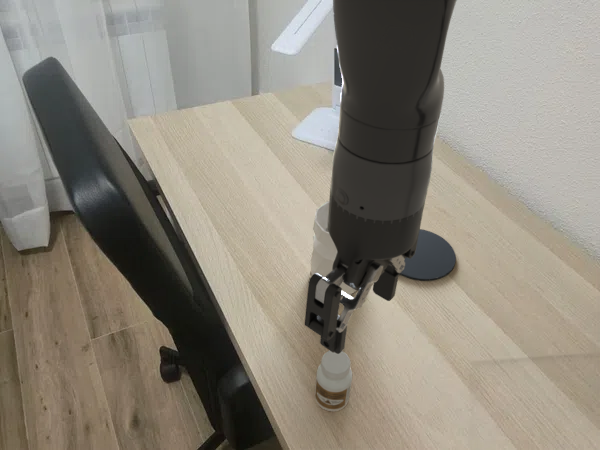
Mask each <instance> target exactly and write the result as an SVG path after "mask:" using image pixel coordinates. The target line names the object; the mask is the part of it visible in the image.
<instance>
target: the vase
mask: <svg viewBox="0 0 600 450" xmlns="http://www.w3.org/2000/svg"><path fill="white" fill-rule="evenodd" d="M328 211H329V200H327V201H325V202H324V203H323V204H322V205H320V206H319V207H318V208H316V209H315V215H314V221H313V225H312V226H313V227H312V231H313V233H314V235H313V236H312V240H313V243H312V252H311V258H310V274H311V276H310V278H311V277H312V275H313V274H315V273H318V274H320V275H321V276H323V277H325V276H326V275H328V274H329V273H330V272H331V271H332V266H333V263H334V260H335V258H336V255H337V249H336V246H335V244H334V242H333V240H332V238H331V236H330V234H329V231H328ZM340 287H341V288H342V291H344V292H345V293H347V294H349V295H350V296H352V294H354V293H356V292H358V291H357V290H355V289H353V288H351V287H350V286H348V285H346V284H345V283H344V282H342V284H341V285H340Z"/></svg>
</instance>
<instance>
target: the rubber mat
mask: <svg viewBox="0 0 600 450" xmlns="http://www.w3.org/2000/svg"><path fill="white" fill-rule="evenodd" d="M404 262H405V267H404V269H403V271H402V272H401V273H399V276H402V277H405V278H407V279H411V280H413V281H421V282H422V281H423V282H429V281H436V280H439V279H442V278H444V277H446V276H448V275H449V274H450V273H451V272H452V271H453V269H454V268H455V265H456V262H457V257H456V252H455V250H454V248H453V247H452V245H451V244H450V243H449V242H448V241H447V240H446V239H445V238H444V237H442V236H440V235H439V234H437V233H435V232H433V231H429V230H427V229H426V230H425V229H423V228H422V229H421V228H420V231H419V236H418V241H417V247H416V251H415V255H414V256H413V257H412V258H411V259H409V258H407V257H406V258H405V260H404Z"/></svg>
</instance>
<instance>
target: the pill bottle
mask: <svg viewBox="0 0 600 450" xmlns="http://www.w3.org/2000/svg"><path fill="white" fill-rule="evenodd" d="M352 382H353V371H352V369H351V358H350V357H349V355H348V354H347V353H346V352H345V351H344V350H342V351H341V352H340V353H339V354H337V353H335V352H334V353H333V352H331V351H330V350H328V351H326V352H324V354H323V355H322V357H321V361H320V364H319V365H318V366H317V370H316V377H315V386H314V387H315V388H314V399H315V402H316V404H317V405H318V406H319V407H320V408H321V409H322V410H325V411H328V412H338V411H341V410H342V409H344V408H345V407H346V406H347V405H348V403H349V400H350V396H351V395H350V394H351V388H352Z"/></svg>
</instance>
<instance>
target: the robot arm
mask: <svg viewBox="0 0 600 450" xmlns="http://www.w3.org/2000/svg"><path fill="white" fill-rule="evenodd" d="M457 1H458V0H332V12H333V13H332V14H333V24H334V34H335V42H336V49H337V58H338V64H339V68H340V69H339V70H340V73H341V78H342V85H341V91H340V101H339V102H340V103H339V115H338V127H337V135H336V142H335V146H334V150H333V154H332V161H331V174H330V184H329V186H330V188H329V200H328V201H329V211H328V231H329V234H330V236H331V238H332V240H333V242H334V244H335V246H336V249H337V255H336V258H335V260H334V263H333V266H332V271H331V272H330V273H329V274H328V275H326V276H325V277H323V276H321V275H320V274H318V273H315V274H313V275H312V277H311V276H310V278H309V280H308V285H307V296H306V305H305V313H304V315H305V316H304V326H305V327H307V328H308V329H310V330H311V331H313V332H314V333H315V334H317V335H319V338H320V339H319V344H320V345H321V346H322V347H324V348H325V349H327V350H328V351H331V352H333V353H334V352H335V353H337V354H339V353H340V352H341V351H344V350H345V345H346V340H347V339H346V337H347V331H348V324H349V321H350V320H351V317H352V315H353V313H354V311H355V310H356V311H357V310H360V309H362V307H363V305H364V303H365V301H366V299H367V297H368V295H369V293H370V291H371V289H372V291H373V293H374V294H375V295H376V296H378V297H380V298H381V299H383V300H384V301H387V302H390V301H392V300H393V298H394V297H396V296H395V295H396V290H397V286H398V281H399V276H400V274H399V273H401V272H402V271H403V269H404V267H405V262H404V260H405V258H406V257H407V258H409V259H411V258H412V257H413V256H414V255H415V251H416V247H417V241H418V236H419V231H420V229H421V225H422V218H423V214H424V209H425V204H426V199H427V195H428V190H429V187H430V182H431V178H432V171H433V161H434V160H433V158H434V157H433V156H434V148H435V147H434V146H435V141H436V136H437V133H438V127H439V123H440V118H441V114H442V108H443V102H444V99H445V98H444V97H445V77H444V73H443V71H442V69H441V67H442V62H443V57H444V52H445V46H446V41H447V37H448V31H449V28H450V24H451V20H452V16H453V13H454V9H455V6H456V4H457ZM342 282H344V283H345V284H346V285H348V286H350V287H351V288H353V289H355V290H357V291H356V293H355V296H352V295H349V294H347V293H345V292H344V291H342V288H341V287H340V285H341V284H342ZM340 305H342V306H343V309H342V311H341V313H340V315H339V311H340Z"/></svg>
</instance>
